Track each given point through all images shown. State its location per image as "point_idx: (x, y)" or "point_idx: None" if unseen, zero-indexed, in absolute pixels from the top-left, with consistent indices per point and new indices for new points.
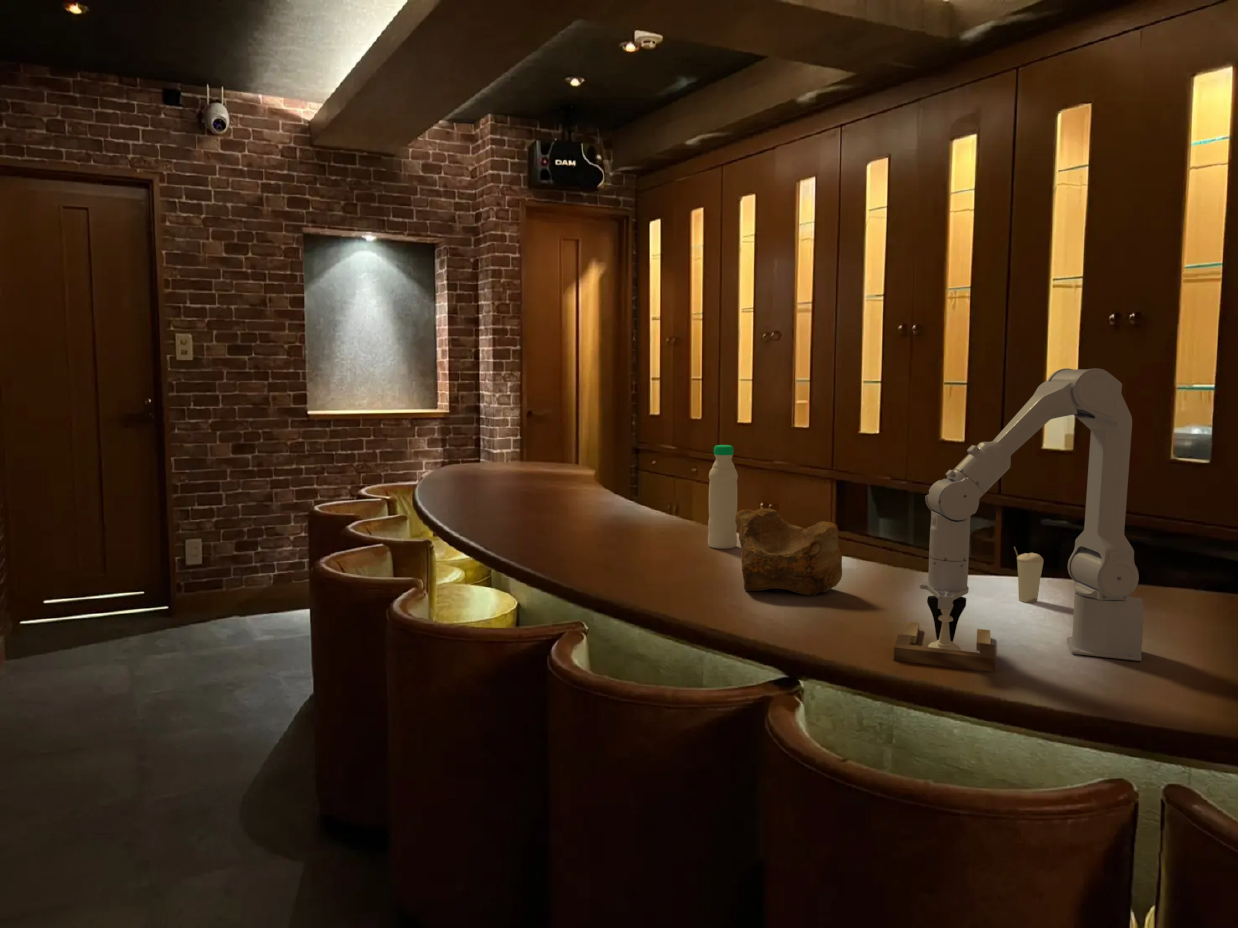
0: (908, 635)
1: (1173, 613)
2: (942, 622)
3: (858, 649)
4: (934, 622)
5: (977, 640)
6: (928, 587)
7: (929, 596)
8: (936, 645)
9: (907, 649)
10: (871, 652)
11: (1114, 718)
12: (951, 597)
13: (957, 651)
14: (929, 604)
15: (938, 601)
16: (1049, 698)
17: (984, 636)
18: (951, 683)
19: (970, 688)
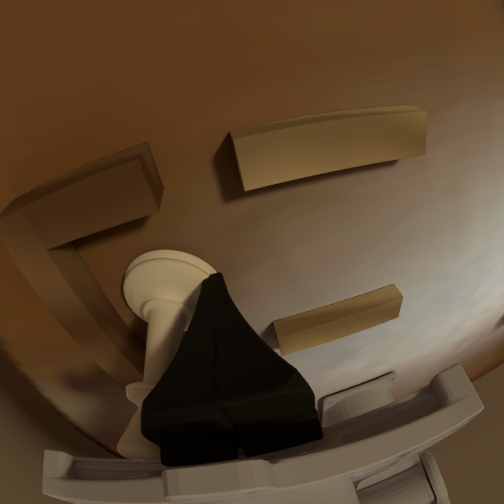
0: (239, 161)
1: (487, 362)
2: (144, 378)
3: (27, 51)
4: (185, 334)
5: (297, 333)
6: (162, 496)
7: (277, 396)
8: (149, 293)
9: (15, 258)
10: (25, 103)
11: (100, 440)
12: (73, 502)
13: (113, 354)
14: (141, 411)
15: (43, 473)
16: (95, 416)
17: (343, 328)
18: (15, 339)
19: (27, 361)
